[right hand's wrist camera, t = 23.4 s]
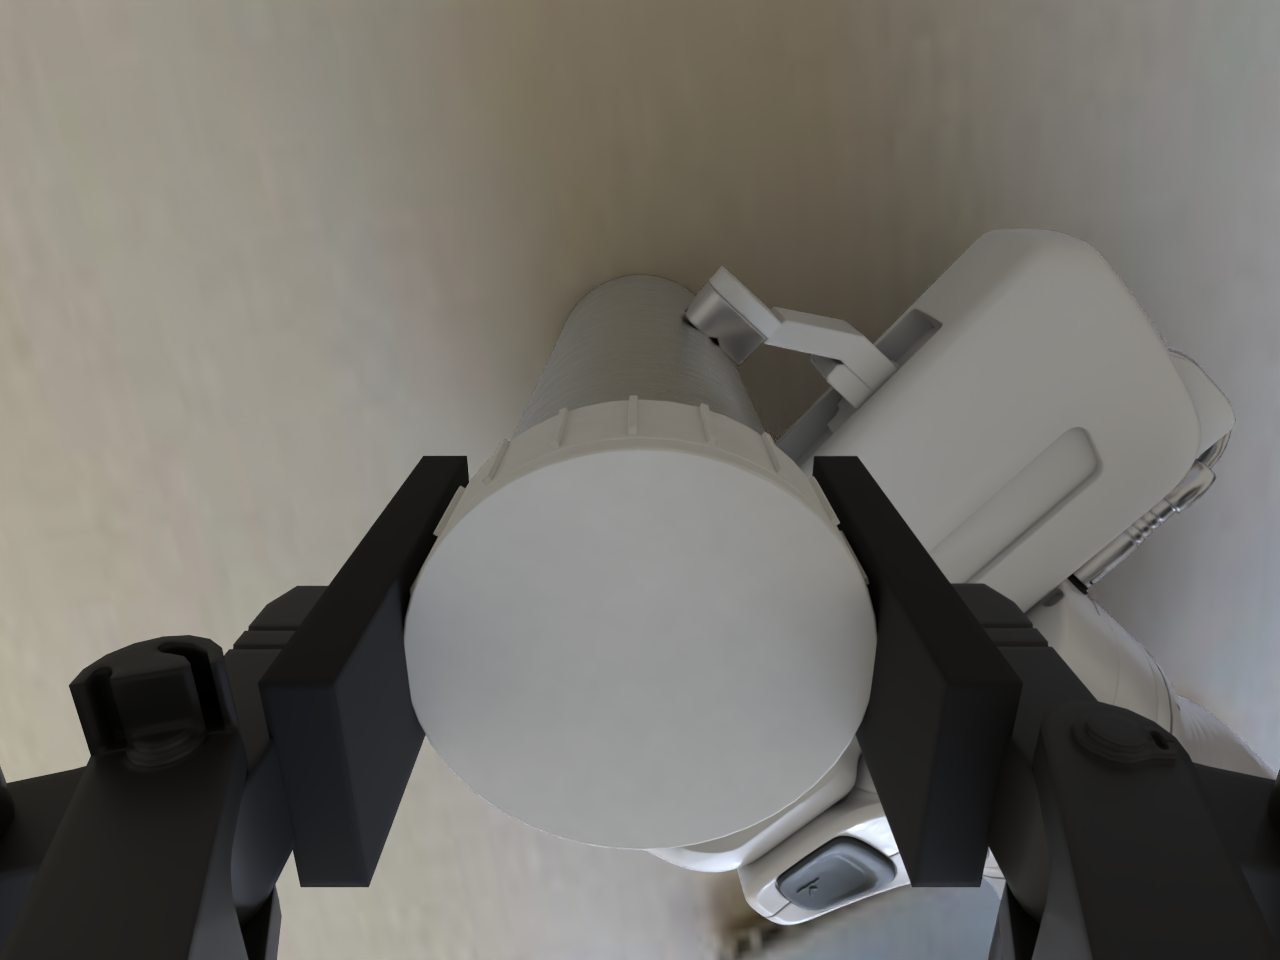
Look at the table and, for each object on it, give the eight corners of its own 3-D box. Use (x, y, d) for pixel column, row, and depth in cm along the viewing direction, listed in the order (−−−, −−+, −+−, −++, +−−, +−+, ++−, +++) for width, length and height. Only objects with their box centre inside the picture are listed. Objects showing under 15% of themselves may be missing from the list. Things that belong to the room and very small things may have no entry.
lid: (889, 424, 11) (938, 477, 9) (800, 773, 14) (825, 872, 12) (442, 368, 11) (402, 411, 9) (429, 735, 13) (393, 831, 11)
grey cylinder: (539, 295, 26) (385, 502, 10) (704, 257, 26) (807, 412, 10) (581, 449, 28) (506, 823, 12) (735, 416, 28) (861, 759, 12)
